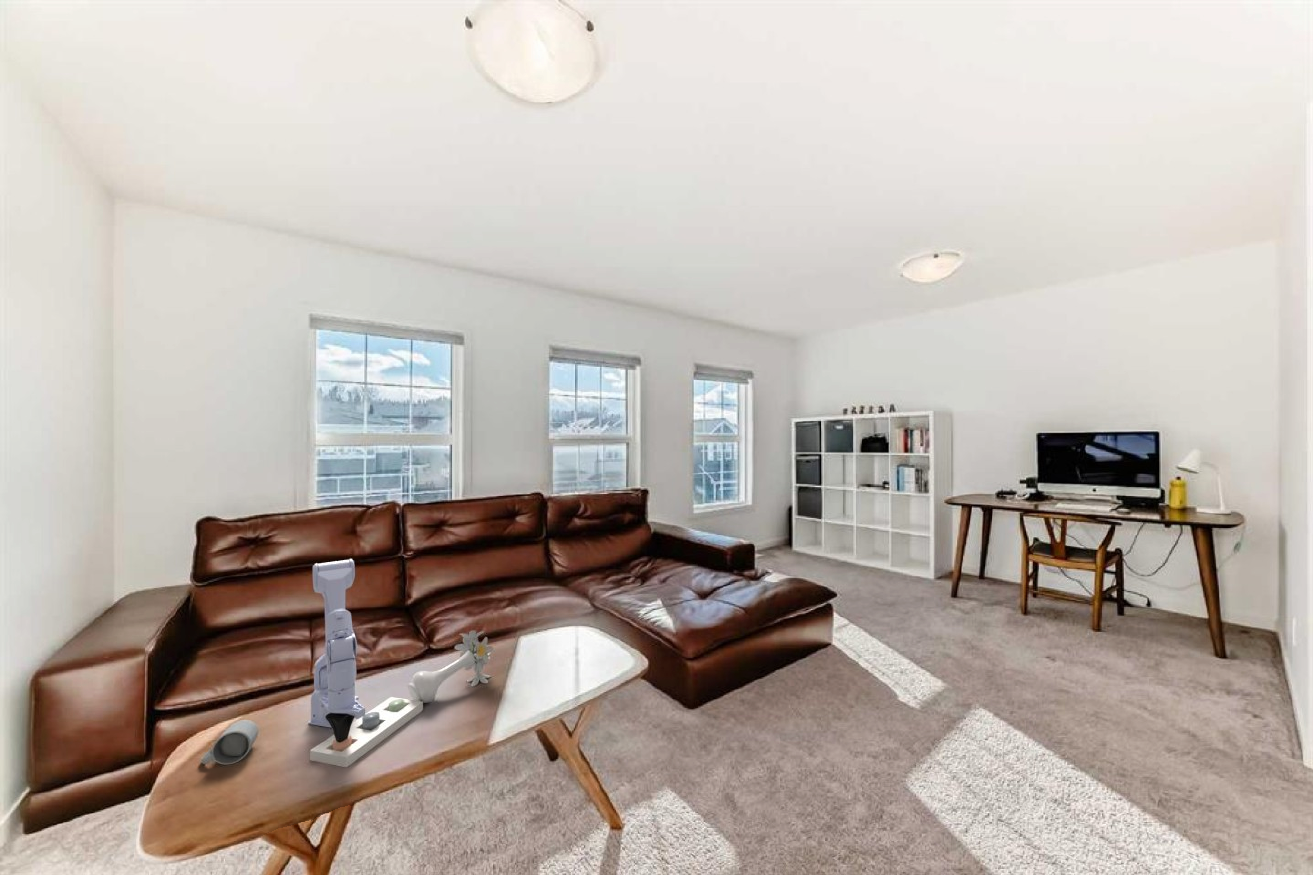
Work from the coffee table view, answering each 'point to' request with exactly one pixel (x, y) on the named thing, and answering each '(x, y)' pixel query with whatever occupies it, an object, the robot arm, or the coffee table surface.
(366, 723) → the slate button
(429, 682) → the flower vase
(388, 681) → the coffee table surface
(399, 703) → the sage button
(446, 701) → the coffee table surface
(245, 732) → the ceramic mug
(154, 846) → the coffee table surface
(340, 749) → the terracotta button
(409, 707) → the panel
